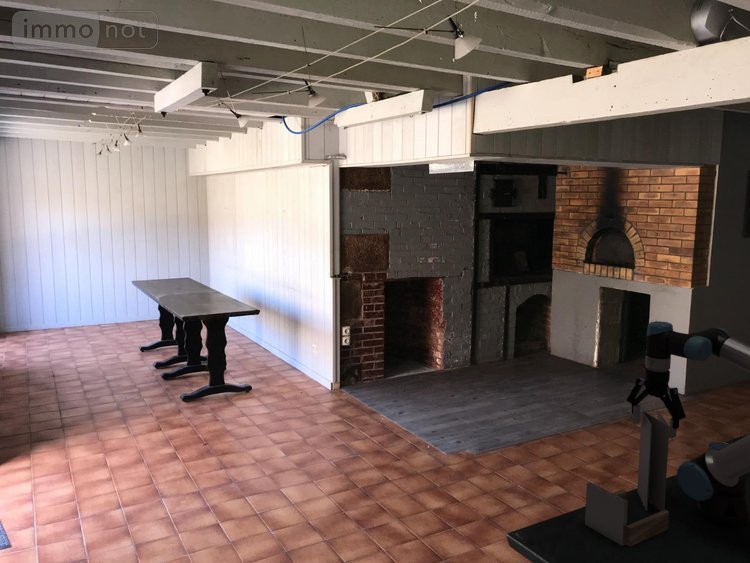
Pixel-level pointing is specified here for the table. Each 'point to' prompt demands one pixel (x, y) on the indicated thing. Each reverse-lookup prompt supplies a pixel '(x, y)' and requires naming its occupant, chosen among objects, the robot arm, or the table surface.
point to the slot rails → (644, 525)
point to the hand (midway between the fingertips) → (653, 430)
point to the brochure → (653, 460)
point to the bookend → (606, 513)
